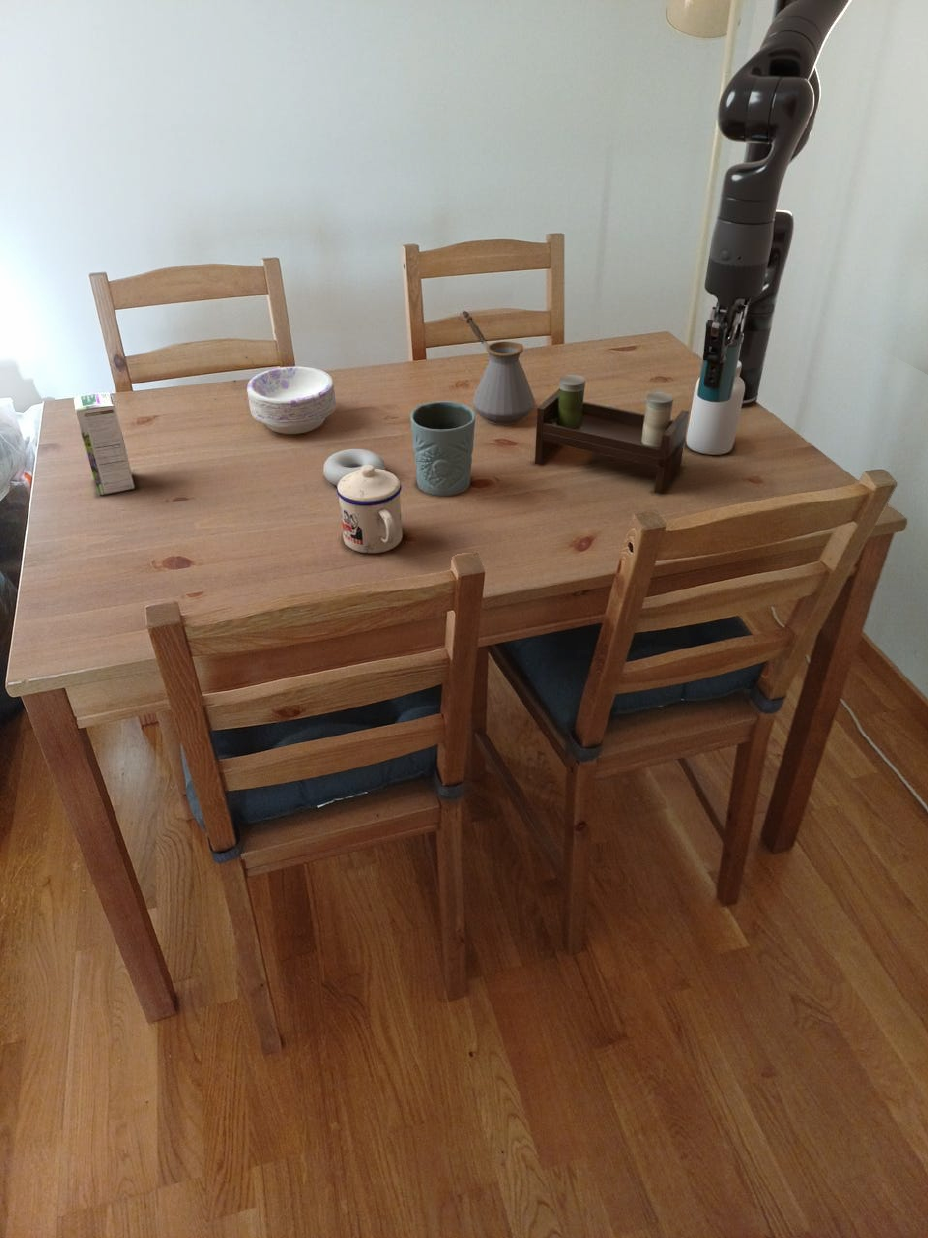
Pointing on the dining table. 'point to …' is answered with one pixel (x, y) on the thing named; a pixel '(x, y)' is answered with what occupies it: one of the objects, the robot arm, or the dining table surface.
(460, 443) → the teal embossed cup
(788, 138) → the robot arm
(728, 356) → the spice jar
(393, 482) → the teacup with lid
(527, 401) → the coffee pot
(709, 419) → the pill bottle
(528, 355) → the dining table surface
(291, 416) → the paper bowls
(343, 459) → the donut
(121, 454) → the syrup box
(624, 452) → the spice rack
